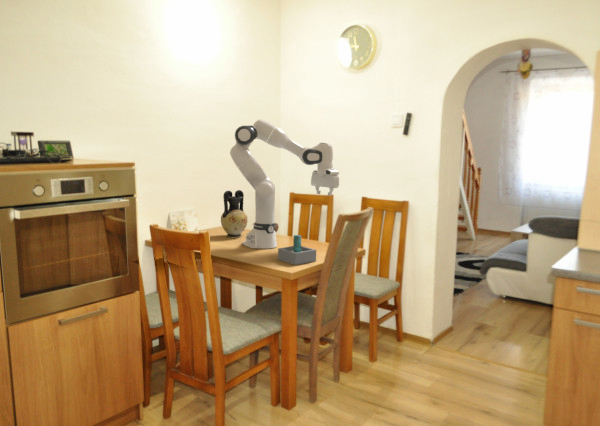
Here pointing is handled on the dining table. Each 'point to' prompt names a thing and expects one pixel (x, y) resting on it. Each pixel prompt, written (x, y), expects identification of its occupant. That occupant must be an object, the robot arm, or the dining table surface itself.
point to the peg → (297, 243)
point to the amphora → (234, 214)
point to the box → (297, 255)
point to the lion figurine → (276, 227)
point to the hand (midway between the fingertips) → (324, 194)
